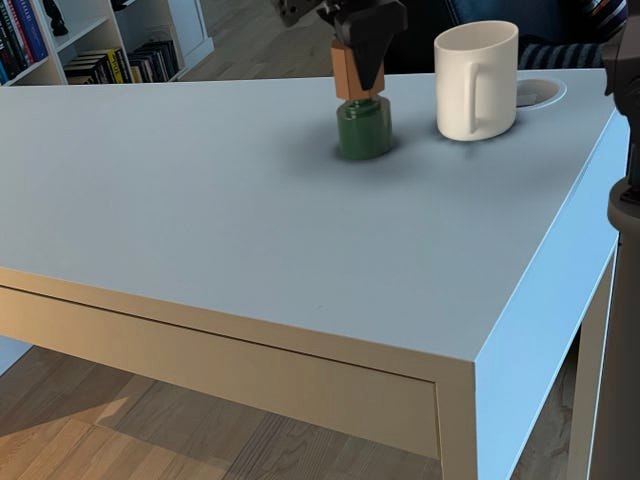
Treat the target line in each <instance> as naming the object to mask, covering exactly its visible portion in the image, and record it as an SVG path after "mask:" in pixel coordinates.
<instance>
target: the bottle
mask: <svg viewBox="0 0 640 480" xmlns="http://www.w3.org/2000/svg"><path fill="white" fill-rule="evenodd" d="M335 115H336V122H337V132H338V139H339V147H340V154H341V155H342V156H343V157H345V158H347V159H351V160H369V159H372V158H376V157H380V156H382V155H384V154H386V153H387V152H390V150H391V149H392V148H393V146H394V134H393V133H394V132H393V118H392V106H391V101H390V99H389V98H387V97H386V96H381V95H380V94H379V93H378V94H376V95H374V96H372V97H370V98H365V99H359V100H353V101H351V100H350V101H348V100H345V101H344V102H343V103H341V104H340V105H339V106H338V107H337V109H336V112H335Z"/></svg>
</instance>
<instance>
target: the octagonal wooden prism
mask: <svg viewBox="0 0 640 480" xmlns="http://www.w3.org/2000/svg"><path fill="white" fill-rule="evenodd" d="M330 52H331V60H332V61H331V62H332V69H333V70H332V71H333V78H334V85H335V86H334V87H335V95H336V98H337V99H340V100H345V101H346V100H348V101H350V100H351V101H353V100H359V99H365V98H370V97H372V96H374V95H376V94H378V95H379V94H380V93H381V92H383V91H385V89H386V82H385V68H384V67H385V66H384V60H383V61H382V64H381V67H380V69H379V72H378V75H377V78H376V80H375V83H374V86H373V88H372V89H371V90H367V91H363V90H362V89H361V85H360V82H359V79H358V75H357V72H356V68H355V65H354V61H353V58H352V54H351V51H350V48H348V47H347V46H345V45H342V44H341V43H339V41H338V40H337V39H336V38H335V39H333V40H332V41H331V44H330Z"/></svg>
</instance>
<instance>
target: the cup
mask: <svg viewBox="0 0 640 480" xmlns="http://www.w3.org/2000/svg"><path fill="white" fill-rule="evenodd" d="M433 49H434V50H433V51H434V53H433V54H434V79H435V80H434V81H435V105H436V123H437V129H438V131H439V132H440V134H441V135H442V136H444V137H446V138H448V139H450V140H454V141H460V142H461V141H462V142H473V141H480V140H486V139H490V138H493V137H496V136H499V135H501V134H503V133H505V132H507V131H508V130H509V129H510V128H511V127H512V125H513V124H514V123H515V120H516V116H517V94H518V93H517V90H518V62H519V61H518V60H519V59H518V58H519V57H518V56H519V28H518V26H517V25H516V24H515V23H512V22H510V21H505V20H482V21H475V22H470V23H465V24H460V25H458V26H455V27H452V28H449V29H447V30H445V31H443V32H442V33H440V34H439V35H438V36H437V37H436V38H435V39H434V42H433Z"/></svg>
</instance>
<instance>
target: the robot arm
mask: <svg viewBox="0 0 640 480" xmlns="http://www.w3.org/2000/svg"><path fill="white" fill-rule="evenodd" d="M268 1H269V2H270V5H271V6H272V8H273V10H274V12H275V13H276V15H277V17H278V18H279V21H280V22H281V23H282V25H283V27H284V28H286V29H288V28H291V27H293V26H294V25H296V24H297V23H299V21H300V19H301V18H303V17H304V16H306V15H307V14H308V13H310V12H312V11H313V10H315V9H316V8H317V9H316V10H315V13H316V15H317V16H318V17H319V18H320V19H321V20H323V21H324V22H325V23H326V24H329V25H330V26H331V27H332V28H333V30H334V33H333V36H334V38H335V39H337V40H338V41H339V43H341V44H342V45H345V46H347V47H348V48H350V51H351V54H352V58H353V61H354V65H355V68H356V72H357V75H358V79H359V82H360V85H361V89H362V90H363V91H367V90H371V89H372V88H373V86H374V83H375V80H376V78H377V75H378V72H379V69H380V67H381V64H382V61H383V62H384V58H385V55H386V53H387V51H388V49H389V46H390V44H391V41H392V39H393V37H394V34H398V33H402V32H404V31H406V30H407V29H408V9H407V7H406V6H405V5H404V4H403V3H401V2H400V1H399V0H268ZM321 4H322V7H319V6H320V5H321ZM625 6H626V7H625V8H626V17H625V22H624V25H623V28H622V29H621V30H620V31H619V32H617V33H616V34H615V35H614V36H613V37H612V38H610V39H609V40H608V41H607V42H606V43H605V44H603V45H602V46H601V48H600V55H601V61H602V64H603V67H604V69H605V74H606V87H605V90H604V93H603V95H604V97H609V96H610V95H612V99H613V103H614V106H615V108H616V110H617V112H618V113H619V115H620V116H622V117H626V120H627V123H628V127H629V130H630V134H631V137H632V141H633V143H632V144H631V150H630V159H629V166H628V174H627V175H628V181H627V182H628V185H630V186H631V187H630V188H628V189H627V190H625V191H624V192H623V193H621V194H620V201H623V202H627V203H630V204H634V205H637V206H640V0H625ZM318 7H319V8H318Z"/></svg>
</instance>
